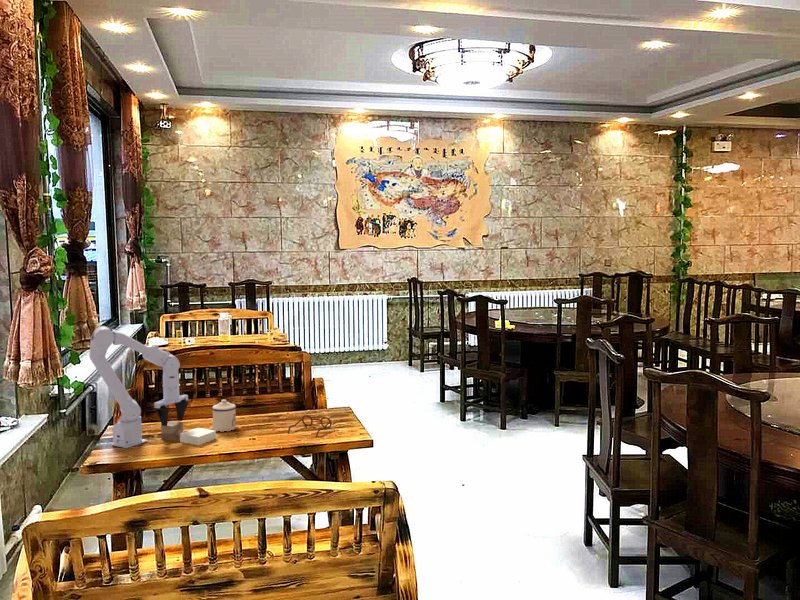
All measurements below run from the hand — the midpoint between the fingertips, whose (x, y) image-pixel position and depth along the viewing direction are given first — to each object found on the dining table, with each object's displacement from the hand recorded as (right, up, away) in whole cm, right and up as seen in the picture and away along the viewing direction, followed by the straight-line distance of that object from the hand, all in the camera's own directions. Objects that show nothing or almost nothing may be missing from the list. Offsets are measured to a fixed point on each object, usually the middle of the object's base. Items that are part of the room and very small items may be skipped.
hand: (172, 422), depth 247 cm
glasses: (+50, -6, +10) cm, 51 cm away
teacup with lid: (+16, -5, +14) cm, 21 cm away
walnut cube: (0, -6, 0) cm, 6 cm away
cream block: (+11, -6, -3) cm, 13 cm away
